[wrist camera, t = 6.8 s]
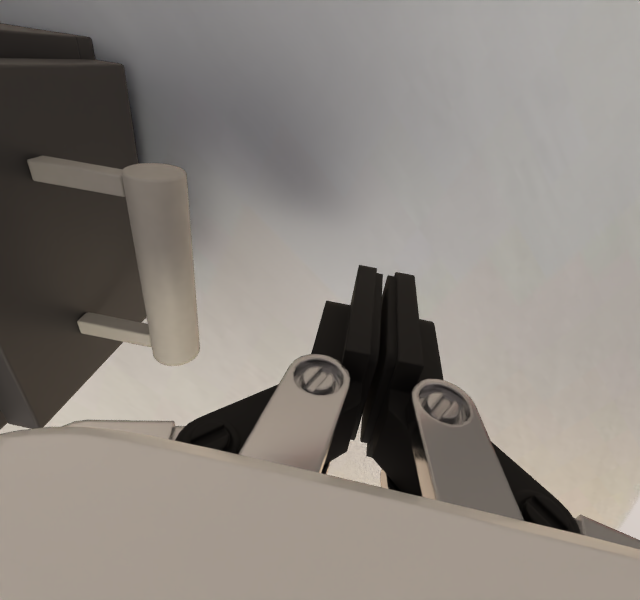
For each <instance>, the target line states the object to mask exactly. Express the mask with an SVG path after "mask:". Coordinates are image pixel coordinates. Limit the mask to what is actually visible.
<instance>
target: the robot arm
mask: <svg viewBox="0 0 640 600" xmlns="http://www.w3.org/2000/svg"><path fill="white" fill-rule="evenodd" d="M376 272H377V268H372V267H367V266H362V265H359V268H358V272H357V277H356V281H355V286H354V291H353V296H352V300H351V305H346V304H341V303H336V302H331V301H326V303H325V307H324V310H323V314H322V318H321V321H320V325H319V328H318V332H317V335H316V339H315V343H314V346H313V350H312V353H311V354H309V355H305V356H301V357H299V358H298V359H296V360H294V361H293V363H292V364H291V365H290V366H289V368H288V369H287V371H286V373H285V375H284V376H283V378H282V380H281V381H280V383H279V384H278V385H276V386H273V387H271V388H269V389H266V390H264V391H262V392H259V393H257V394H254V395H252V396H250V397H247V398H245V399H242V400H240V401H238V402H235V403H233V404H231V405H228V406H226V407H223V408H221V409H219V410H216V411H214V412H211V413H209V414H207V415H204V416H202V417H200V418H197V419H196V420H194V421H192V422H190V423H189V424H187V425H186V426H175V422H174V421H130V420H82V421H74V422H72V423H69V424H67V425H64V426H62V427H45V428H36V429H28V430H19V431H13V432H8V433H3V434H0V600H640V540H638V539H636V538H633V537H631V536H629V535H626V534H624V533H622V532H619V531H617V530H615V529H612V528H610V527H608V526H605V525H603V524H601V523H599V522H596V521H594V520H592V519H589V518H587V517H585V516H582V515H579V516H578V517H577V518H573V517H572V515H571V514H570V512H569V511H568V510H567V509H566V508H565V507H564V506H563V505H562V504H561V503H560V502H559V501H558V500H557V499H556V498H555V497H554V496H553V495H552V494H550V493H549V492H548V491H547V490H546V489H545V488H544V487H542V486H541V485H540V484H539V483H538V482H537V481H536V480H534V479H533V478H532V477H531V476H530V475H529V474H528V473H526V472H525V471H524V470H523V469H522V468H521V467H520V466H518V465H517V464H516V463H515V462H514V461H513V460H512V459H510V458H509V457H508V456H507V455H506V454H505V453H504V452H502V451H501V450H500V449H499V448H498V447H497V446H496V445H494V444H493V443H492V442H491V441H490V439H489V436H488V434H487V431H486V429H485V427H484V424H483V422H482V420H481V417H480V415H479V413H478V410H477V408H476V406H475V404H474V402H473V401H472V399H471V398H470V397H469V396H468V395H467V394H466V393H465V392H464V391H463V390H462V389H460V388H459V387H457V386H456V385H454V384H452V383H449V382H447V381H444V380H443V374H442V368H441V362H440V356H439V350H438V344H437V338H436V331H435V326H434V323H433V322H431V321H426V320H421V319H419V314H418V304H417V295H416V285H415V277H414V275H409V274H404V273H398V272H396V273H395V275H394V276H389V275H388V276H387V280H386V283H385V287H384V291H383V294H382V281H383V274H379V273H376ZM361 417H362V426H361V438H360V441H361V442H364V443H367V455H366V456H368V457H372V458H373V459H374V460H375V461H376V462H377V463H378V465H379V466H380V467H381V468H382V470H381V474H380V482H381V487H378V486H373V485H369V484H365V483H360V482H356V481H352V480H348V479H343V478H339V477H335V476H330V475H327V472H328V469H329V466H330V462H331V461H332V460H333V459H335V458H337V457H338V456H340V455H342V454H343V453H345V452H347V449H348V446H349V442H350V439H351V440H355V437H356V434H357V430H358V427H359V424H360V420H361Z"/></svg>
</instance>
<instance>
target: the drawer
mask: <svg viewBox="0 0 640 600" xmlns="http://www.w3.org/2000/svg"><path fill="white" fill-rule="evenodd" d="M146 317H147V322H148V324H145V323H141V322H142V321H143V320H144V319H145V318H146ZM123 342H128V343H132V344H137V345H142V346H147V347H151V346H152V350H153V356H154V358H155V359H156V360H157V361H158V362H159V363H161V364H164V365H168V366H178V365H183V364H186V363H188V362H190V361H192V360H193V359H194V358H195V357H196V356H197V355H198V353H199V351H200V342H199V329H198V316H197V303H196V290H195V277H194V264H193V251H192V238H191V225H190V212H189V199H188V186H187V174H186V172H185V170H183V169H182V168H179V167H177V166H173V165H169V164H161V163H141V164H138V158H137V152H136V145H135V138H134V131H133V124H132V118H131V111H130V104H129V97H128V91H127V84H126V77H125V70H124V66H123V65H122V64H119V63H113V62H107V61H100V60H94V59H35V58H0V410H1V412H2V413H3V415H4V417H5V419H6V421H7V422H8V423H9V424H13V425H17V426H22V427H26V428H31V429H36V428H43V427H44V426H45V425H46V424H47V423H48V422H49V421H50V420H51V418H52V417H53V416H54V415H55V414H56V413H57V412H58V411H59V410H60V409H61V408H62V407H63V406H64V405H65V404H66V402H67V401H68V400H69V399H70V398H71V397H72V396H73V395H74V394H75V393H76V392H77V391H78V390H79V389H80V388H81V386H82V385H83V384H84V383H85V382H86V381H87V380H88V379H89V378H90V377H91V376H92V375H93V374H94V373H95V371H96V370H97V369H98V368H99V367H100V366H101V365H102V364H103V363H104V362H105V361H106V360H107V359H108V358H109V357H110V355H111V354H112V353H113V352H114V351H115V350H116V349H117V348H118V347H119V346H120V345H121V344H122V343H123Z"/></svg>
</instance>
